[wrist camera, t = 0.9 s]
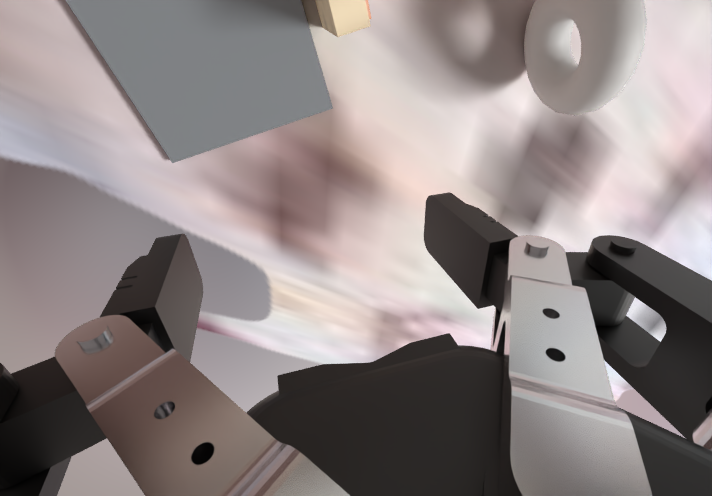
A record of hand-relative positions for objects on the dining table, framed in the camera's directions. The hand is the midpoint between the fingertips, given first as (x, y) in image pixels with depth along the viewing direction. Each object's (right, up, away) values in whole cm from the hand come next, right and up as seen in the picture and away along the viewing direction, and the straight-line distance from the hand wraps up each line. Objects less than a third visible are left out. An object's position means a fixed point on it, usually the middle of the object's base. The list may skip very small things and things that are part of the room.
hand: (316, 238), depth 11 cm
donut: (+16, +18, +17) cm, 30 cm away
